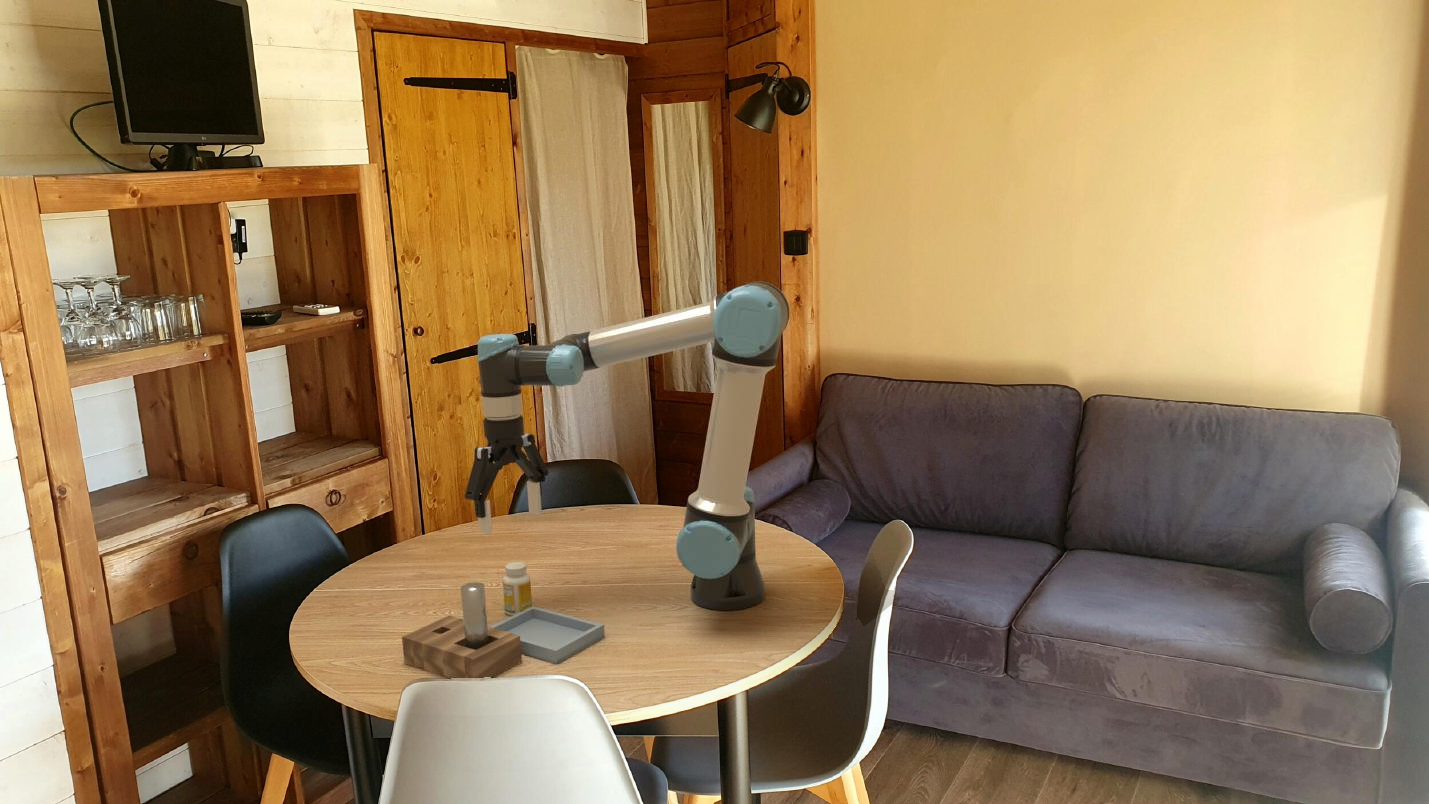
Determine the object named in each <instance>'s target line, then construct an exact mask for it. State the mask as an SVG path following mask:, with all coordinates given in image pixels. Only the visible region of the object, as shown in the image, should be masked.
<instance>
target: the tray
mask: <svg viewBox="0 0 1429 804" xmlns="http://www.w3.org/2000/svg"><path fill="white" fill-rule="evenodd" d="M489 627H492V628H496V629H499V630H502V631H506V632H509V633H513V634H516V635H520V642H521V655H524V656H528V657H531V658H535V659H538V660H542V661H544V662H549V663H552V664H555V665H558V664H560V663H561V662H563V661H566V660H568V659H569V658H571V657H572V656H574V655H576V654H578V653H580V652H581V651H583V650H585V649H586V648H588V647H591V646H593V644H595V643H598V642H600V641H601V640H602V639H605V637H606V635H605V624H603V623H599V622H596V621H591V620H588V619H584V618H580V617H576V616H572V615H569V614H564V613H562V612H557V611H553V610H550V609H546V608H543V607H542V608H541V607H538V606H534V605H532V607H530V608H528V609H526V610H523V611H521V612H519V613H517V614H515V615H513V616H510V617H507V618H505V619H502V620H501V621H499V622H497V623H495V624H492V625H490V626H489Z"/></svg>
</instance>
